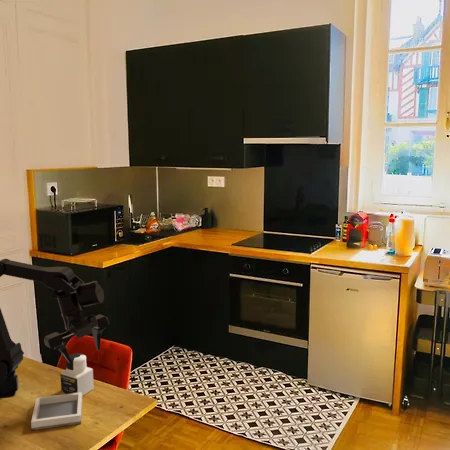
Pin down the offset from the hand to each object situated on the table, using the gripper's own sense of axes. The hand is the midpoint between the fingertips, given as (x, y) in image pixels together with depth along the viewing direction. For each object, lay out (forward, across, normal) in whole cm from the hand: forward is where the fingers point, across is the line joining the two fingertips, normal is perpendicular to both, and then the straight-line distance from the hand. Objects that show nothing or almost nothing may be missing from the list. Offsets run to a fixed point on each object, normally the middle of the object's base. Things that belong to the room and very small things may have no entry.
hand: (84, 356), depth 147 cm
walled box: (+12, -12, -3) cm, 17 cm away
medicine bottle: (+12, -3, +6) cm, 14 cm away
